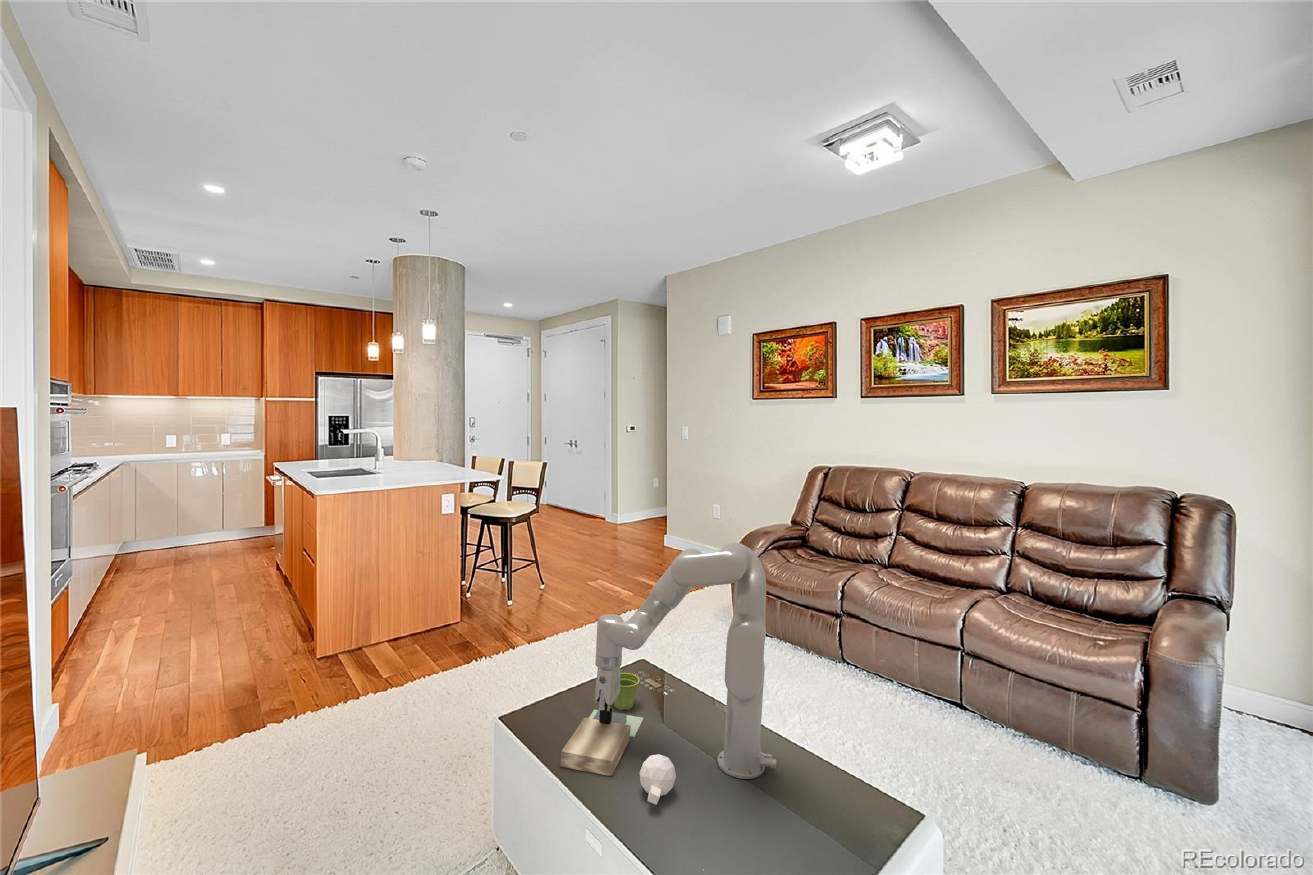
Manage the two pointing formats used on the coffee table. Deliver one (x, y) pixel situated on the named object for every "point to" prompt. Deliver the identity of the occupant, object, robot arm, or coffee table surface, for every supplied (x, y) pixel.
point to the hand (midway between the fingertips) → (605, 722)
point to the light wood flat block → (596, 747)
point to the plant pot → (626, 691)
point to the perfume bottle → (657, 776)
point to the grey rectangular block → (614, 717)
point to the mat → (627, 722)
